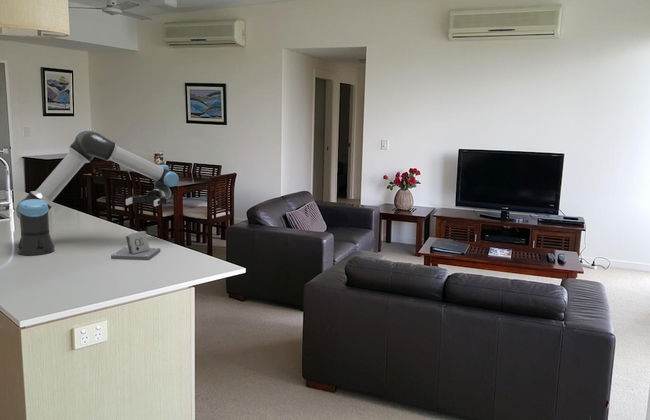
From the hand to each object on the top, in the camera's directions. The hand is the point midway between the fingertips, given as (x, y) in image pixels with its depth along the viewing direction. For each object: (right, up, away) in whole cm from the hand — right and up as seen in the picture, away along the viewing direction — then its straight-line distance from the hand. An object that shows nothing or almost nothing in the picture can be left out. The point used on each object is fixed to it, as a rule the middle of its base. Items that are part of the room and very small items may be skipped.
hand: (140, 203), depth 267 cm
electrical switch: (+3, -23, -12) cm, 26 cm away
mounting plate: (+2, -24, -12) cm, 27 cm away
